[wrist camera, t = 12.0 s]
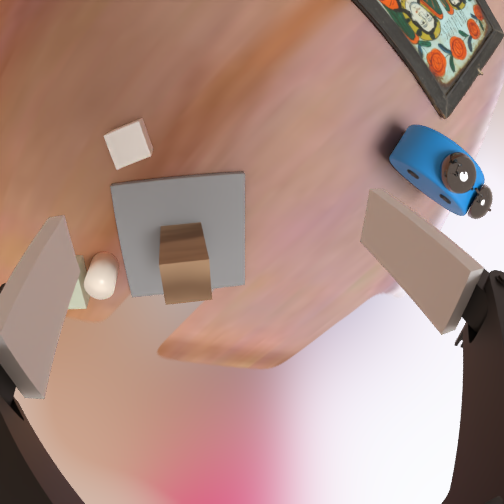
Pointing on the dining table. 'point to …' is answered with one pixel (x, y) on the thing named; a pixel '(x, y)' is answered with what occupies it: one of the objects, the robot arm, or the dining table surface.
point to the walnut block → (184, 264)
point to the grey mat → (181, 212)
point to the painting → (438, 42)
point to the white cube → (129, 143)
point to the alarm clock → (442, 171)
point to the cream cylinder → (101, 275)
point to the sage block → (80, 288)
